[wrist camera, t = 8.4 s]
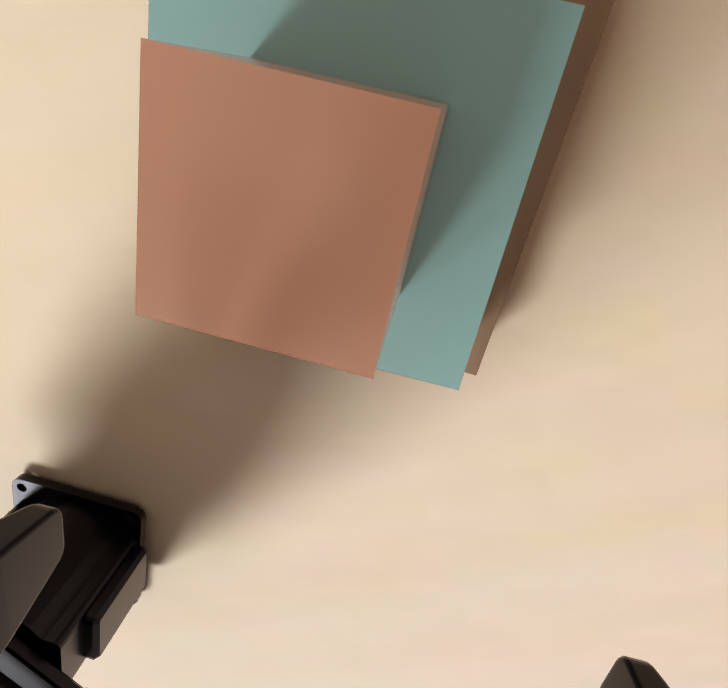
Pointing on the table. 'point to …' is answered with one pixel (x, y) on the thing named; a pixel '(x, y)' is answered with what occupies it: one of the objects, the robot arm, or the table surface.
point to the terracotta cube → (277, 202)
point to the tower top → (458, 138)
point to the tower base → (543, 163)
